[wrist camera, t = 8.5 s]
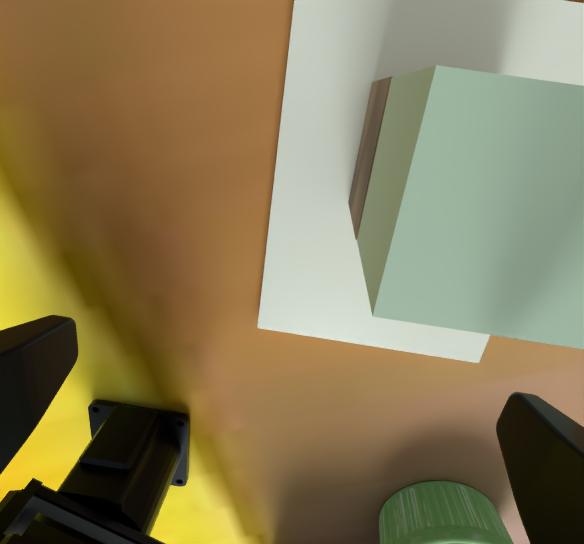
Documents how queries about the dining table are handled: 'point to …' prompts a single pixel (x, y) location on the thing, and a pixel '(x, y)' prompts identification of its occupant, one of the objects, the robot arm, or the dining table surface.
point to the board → (347, 135)
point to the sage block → (478, 206)
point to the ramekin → (440, 516)
